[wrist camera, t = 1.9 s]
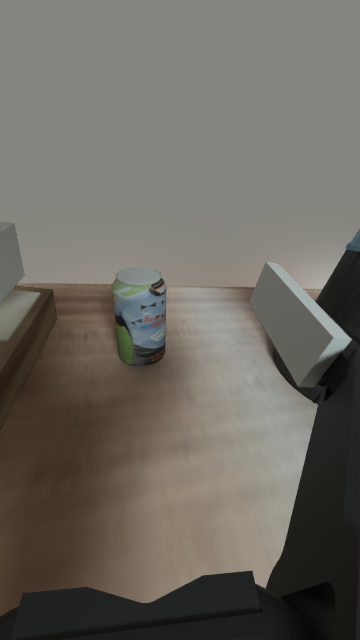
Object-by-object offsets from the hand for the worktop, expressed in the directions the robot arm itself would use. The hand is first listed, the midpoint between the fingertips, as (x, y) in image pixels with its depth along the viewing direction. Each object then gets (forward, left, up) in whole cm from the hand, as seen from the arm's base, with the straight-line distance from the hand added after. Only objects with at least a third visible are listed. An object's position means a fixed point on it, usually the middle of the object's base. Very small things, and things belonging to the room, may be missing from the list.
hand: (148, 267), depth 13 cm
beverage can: (0, -12, -18) cm, 22 cm away
